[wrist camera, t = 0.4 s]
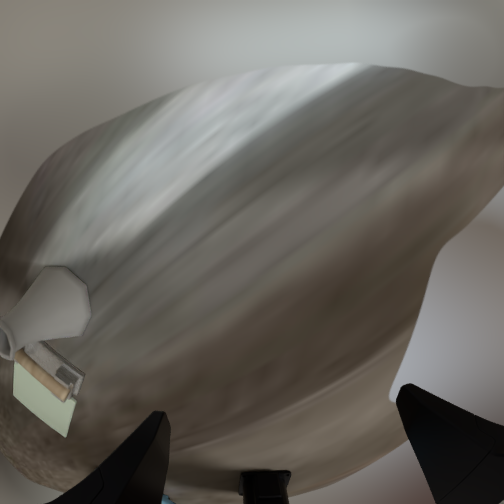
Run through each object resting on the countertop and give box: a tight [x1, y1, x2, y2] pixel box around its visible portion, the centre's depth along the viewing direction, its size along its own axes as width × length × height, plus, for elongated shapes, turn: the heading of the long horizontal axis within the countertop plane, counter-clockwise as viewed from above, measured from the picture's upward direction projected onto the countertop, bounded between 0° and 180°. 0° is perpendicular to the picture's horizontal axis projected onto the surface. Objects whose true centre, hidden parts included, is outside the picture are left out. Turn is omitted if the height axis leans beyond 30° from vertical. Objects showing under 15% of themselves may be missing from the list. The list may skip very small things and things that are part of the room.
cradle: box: [13, 340, 85, 403], centre depth 21 cm, size 10×4×3 cm, turn 57°
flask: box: [0, 267, 92, 361], centre depth 17 cm, size 7×7×10 cm
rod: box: [14, 349, 70, 401], centre depth 19 cm, size 9×2×2 cm, turn 57°
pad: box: [13, 362, 77, 438], centre depth 23 cm, size 10×10×1 cm
